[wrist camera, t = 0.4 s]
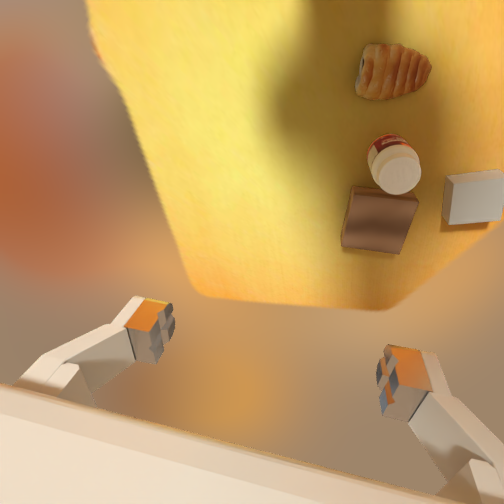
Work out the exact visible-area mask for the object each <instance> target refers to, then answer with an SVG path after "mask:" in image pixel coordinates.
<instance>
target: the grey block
mask: <svg viewBox="0 0 504 504" xmlns="http://www.w3.org/2000/svg"><path fill="white" fill-rule="evenodd" d="M503 207H504V173H503V172H502V171H500V170H499V169H494V170H486V171H478V172H471V173H463V174H455V175H447V176H446V179H445V188H444V197H443V206H442V216H443V218H444V219H445V221H446V222H447V223H448V225H455V224H467V223H478V222H490V221H500V220H501V216H502V211H503Z"/></svg>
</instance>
